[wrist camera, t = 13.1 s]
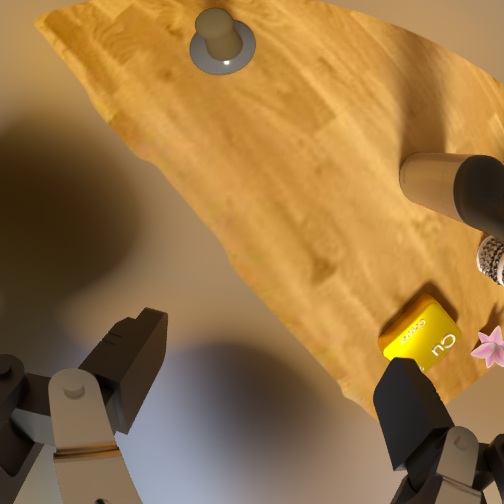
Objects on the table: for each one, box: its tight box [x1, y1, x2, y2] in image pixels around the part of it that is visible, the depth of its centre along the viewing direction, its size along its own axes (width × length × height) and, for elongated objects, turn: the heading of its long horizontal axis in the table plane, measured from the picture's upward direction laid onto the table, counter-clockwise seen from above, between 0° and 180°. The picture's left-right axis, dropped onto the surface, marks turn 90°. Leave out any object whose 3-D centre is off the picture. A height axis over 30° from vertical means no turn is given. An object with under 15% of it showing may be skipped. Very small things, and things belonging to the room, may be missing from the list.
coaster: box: [190, 20, 256, 75], centre depth 40 cm, size 11×11×1 cm
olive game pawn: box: [195, 8, 243, 61], centre depth 34 cm, size 6×6×11 cm
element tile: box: [377, 293, 462, 374], centre depth 52 cm, size 15×15×5 cm
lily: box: [471, 326, 504, 368], centre depth 50 cm, size 12×12×10 cm
